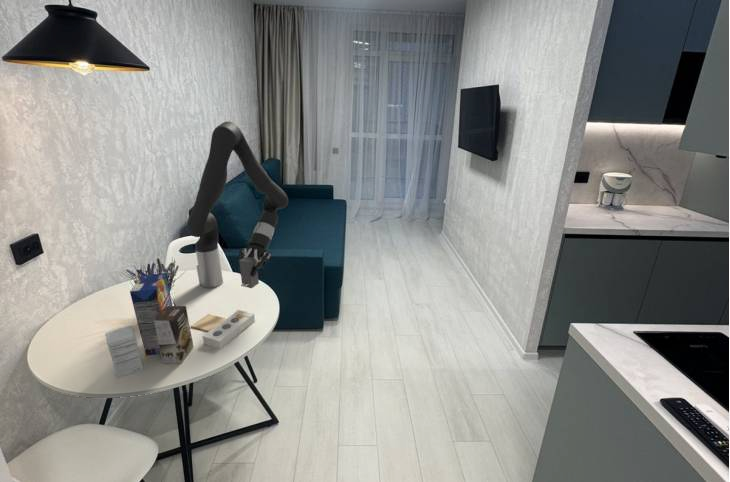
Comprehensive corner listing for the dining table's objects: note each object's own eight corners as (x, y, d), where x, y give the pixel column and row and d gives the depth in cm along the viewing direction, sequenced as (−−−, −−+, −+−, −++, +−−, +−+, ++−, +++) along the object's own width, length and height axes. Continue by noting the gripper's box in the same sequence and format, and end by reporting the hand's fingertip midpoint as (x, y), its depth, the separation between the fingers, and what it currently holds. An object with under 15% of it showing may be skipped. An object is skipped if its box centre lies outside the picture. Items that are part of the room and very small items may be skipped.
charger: (238, 288, 149) (235, 262, 145) (249, 281, 154) (246, 256, 150) (248, 290, 147) (245, 264, 143) (258, 283, 153) (256, 258, 149)
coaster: (191, 327, 143) (190, 325, 142) (208, 315, 150) (208, 314, 150) (209, 332, 139) (209, 331, 139) (226, 319, 147) (226, 318, 147)
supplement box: (114, 365, 122) (105, 332, 118) (141, 357, 126) (132, 324, 122) (116, 379, 117) (106, 344, 112) (144, 369, 121) (135, 335, 116)
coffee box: (182, 363, 123) (173, 320, 117) (162, 363, 123) (152, 320, 117) (194, 346, 132) (186, 305, 126) (176, 346, 132) (167, 305, 126)
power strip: (203, 343, 133) (202, 334, 132) (239, 316, 149) (238, 308, 148) (220, 348, 130) (219, 339, 129) (254, 320, 146) (253, 312, 145)
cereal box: (155, 335, 138) (141, 275, 129) (178, 333, 139) (165, 273, 131) (145, 356, 127) (129, 291, 118) (170, 353, 128) (156, 289, 120)
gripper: (242, 229, 153) (225, 268, 147) (272, 234, 149) (256, 275, 142) (252, 237, 160) (236, 275, 154) (281, 242, 155) (266, 281, 149)
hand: (246, 275), depth 148 cm, fingers closed on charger, 4 cm apart
